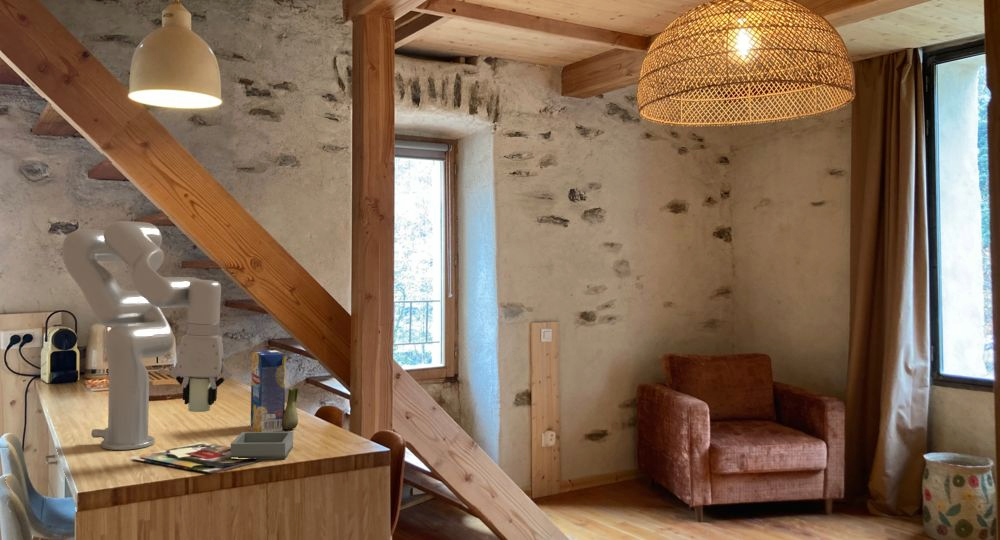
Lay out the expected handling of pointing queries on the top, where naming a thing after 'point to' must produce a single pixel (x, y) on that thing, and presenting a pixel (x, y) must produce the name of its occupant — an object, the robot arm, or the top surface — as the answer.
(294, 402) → the fennel bulb
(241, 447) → the bin
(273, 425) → the beverage box
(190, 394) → the white ceramic cup
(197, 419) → the top surface
